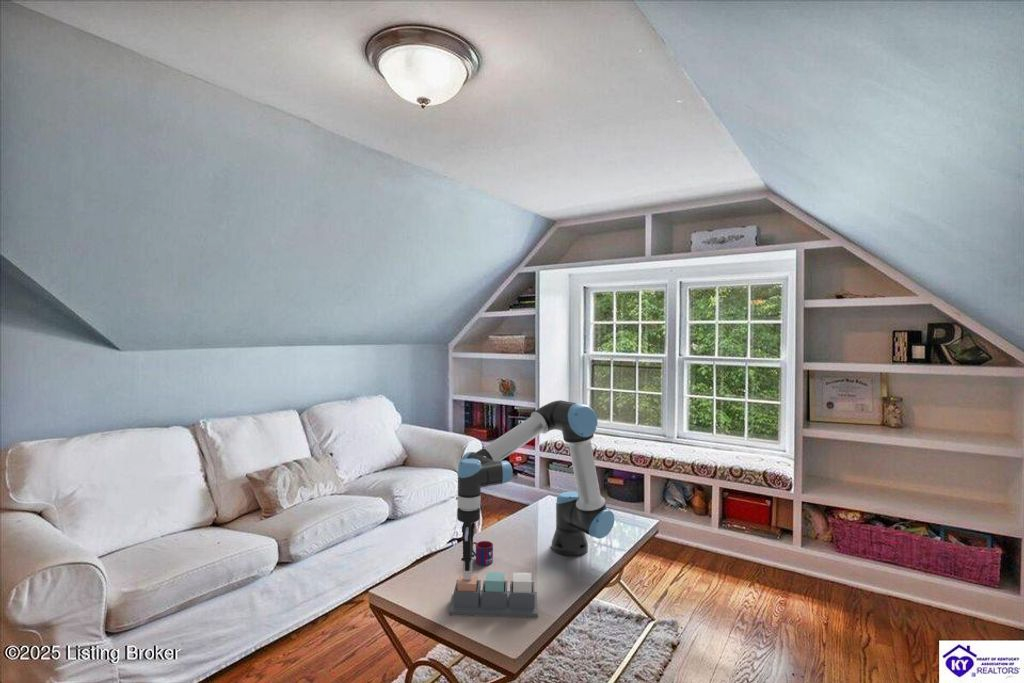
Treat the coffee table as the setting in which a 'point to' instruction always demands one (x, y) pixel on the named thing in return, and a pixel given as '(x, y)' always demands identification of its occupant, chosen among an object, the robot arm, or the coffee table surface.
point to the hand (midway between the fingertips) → (467, 578)
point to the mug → (484, 553)
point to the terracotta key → (467, 584)
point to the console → (494, 602)
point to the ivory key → (522, 583)
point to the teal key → (494, 582)
